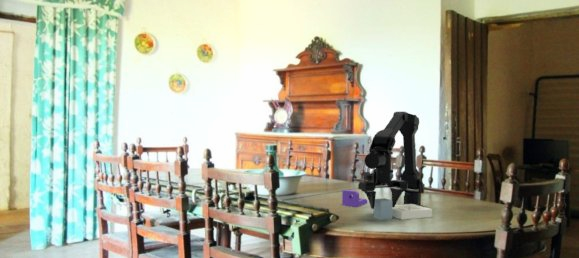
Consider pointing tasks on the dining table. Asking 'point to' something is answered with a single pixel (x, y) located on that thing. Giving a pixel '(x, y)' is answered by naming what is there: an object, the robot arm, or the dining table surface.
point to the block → (382, 209)
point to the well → (410, 211)
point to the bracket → (352, 198)
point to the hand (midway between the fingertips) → (382, 207)
